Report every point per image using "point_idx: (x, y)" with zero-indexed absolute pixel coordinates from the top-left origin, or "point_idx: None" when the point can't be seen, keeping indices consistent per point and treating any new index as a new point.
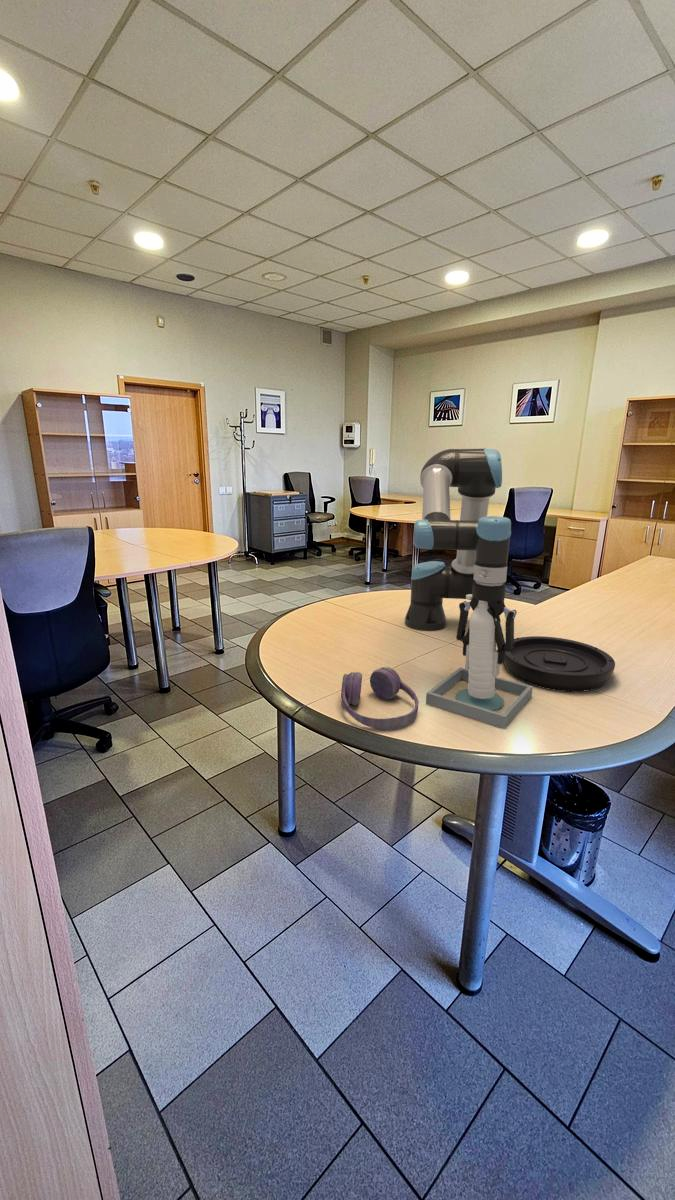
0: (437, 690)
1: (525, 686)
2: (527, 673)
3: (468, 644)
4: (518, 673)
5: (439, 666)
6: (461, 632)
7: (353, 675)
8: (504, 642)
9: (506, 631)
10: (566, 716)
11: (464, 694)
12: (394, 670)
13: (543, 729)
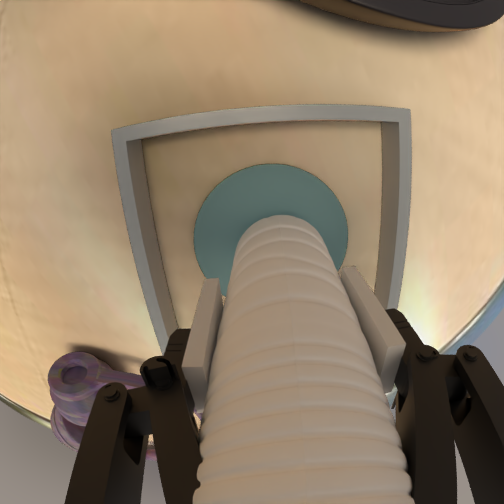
0: (168, 327)
1: (391, 121)
2: (355, 14)
3: (196, 400)
4: (309, 2)
5: (44, 112)
6: (143, 469)
7: (76, 449)
8: (441, 387)
9: (475, 484)
10: (478, 177)
11: (218, 248)
12: (74, 397)
13: (447, 273)
